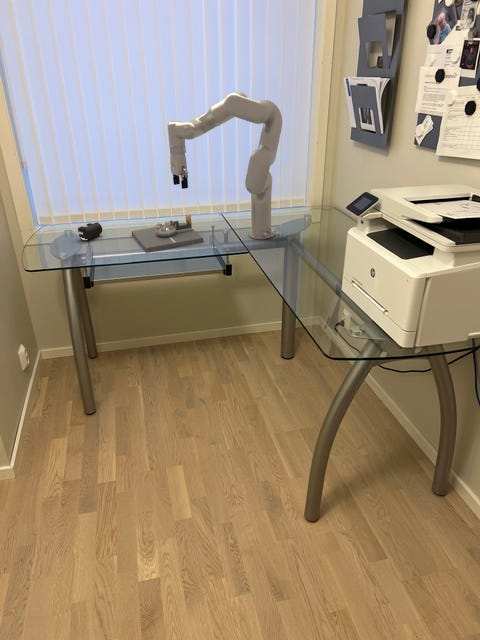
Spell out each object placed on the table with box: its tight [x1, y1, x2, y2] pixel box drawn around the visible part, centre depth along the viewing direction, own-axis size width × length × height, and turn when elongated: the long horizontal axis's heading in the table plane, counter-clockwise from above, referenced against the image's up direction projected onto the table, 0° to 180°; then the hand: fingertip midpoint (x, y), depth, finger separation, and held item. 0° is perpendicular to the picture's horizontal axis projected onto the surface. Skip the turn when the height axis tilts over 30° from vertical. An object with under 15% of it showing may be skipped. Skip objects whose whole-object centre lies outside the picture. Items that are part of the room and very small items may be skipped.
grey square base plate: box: [131, 221, 204, 253], centre depth 230 cm, size 28×28×2 cm
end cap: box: [77, 221, 103, 240], centre depth 233 cm, size 10×7×7 cm
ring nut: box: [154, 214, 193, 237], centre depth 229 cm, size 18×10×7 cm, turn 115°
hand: (180, 186), depth 229 cm, fingers open, 9 cm apart
